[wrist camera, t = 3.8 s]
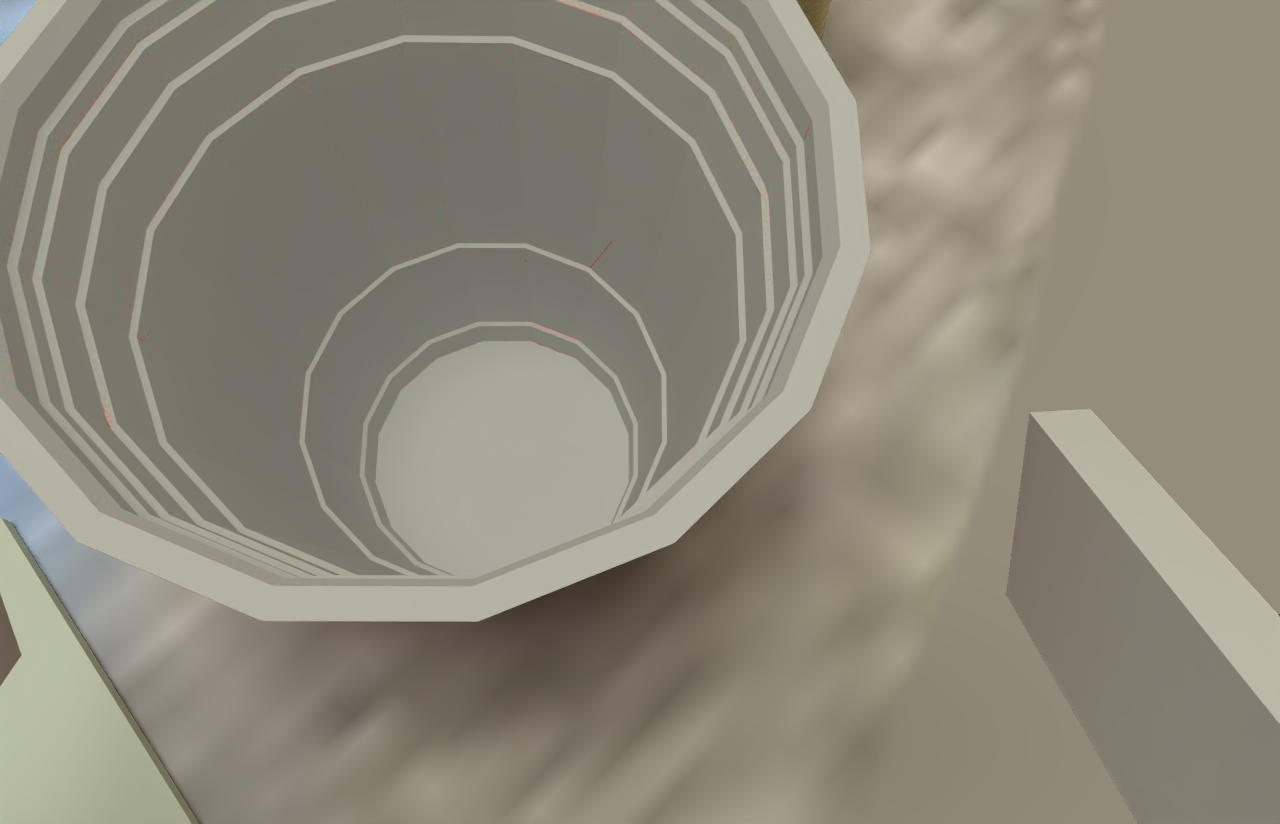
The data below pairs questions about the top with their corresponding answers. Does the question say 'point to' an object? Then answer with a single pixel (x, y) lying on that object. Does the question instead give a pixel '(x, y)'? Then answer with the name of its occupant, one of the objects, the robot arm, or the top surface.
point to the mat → (68, 720)
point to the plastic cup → (412, 284)
